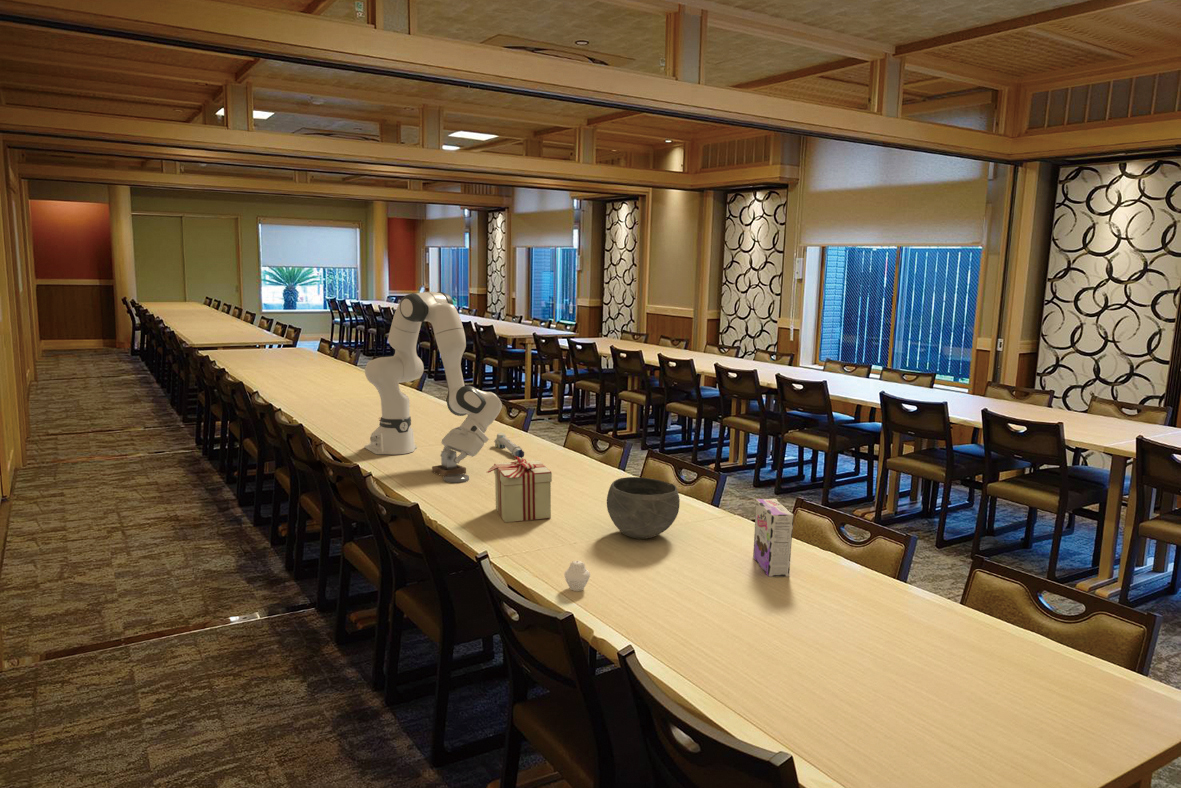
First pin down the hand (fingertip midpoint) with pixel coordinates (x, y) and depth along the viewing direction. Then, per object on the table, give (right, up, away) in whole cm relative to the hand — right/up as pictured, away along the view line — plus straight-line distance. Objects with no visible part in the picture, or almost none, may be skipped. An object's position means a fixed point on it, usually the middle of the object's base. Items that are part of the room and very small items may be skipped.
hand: (448, 459), depth 295 cm
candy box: (+99, -21, -87) cm, 133 cm away
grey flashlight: (+18, 0, +36) cm, 40 cm away
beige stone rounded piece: (+49, -23, -103) cm, 117 cm away
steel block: (0, -5, +1) cm, 5 cm away
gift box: (+30, -13, -48) cm, 58 cm away
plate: (+4, -6, -9) cm, 12 cm away
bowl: (+67, -17, -64) cm, 94 cm away
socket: (0, -5, +1) cm, 5 cm away
